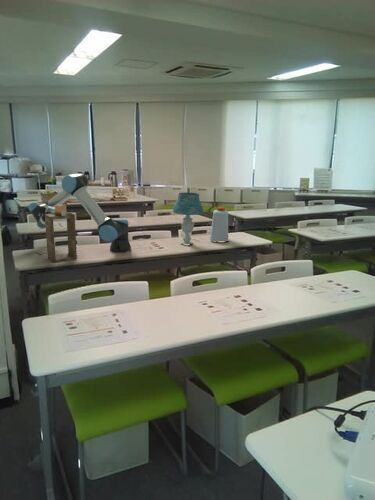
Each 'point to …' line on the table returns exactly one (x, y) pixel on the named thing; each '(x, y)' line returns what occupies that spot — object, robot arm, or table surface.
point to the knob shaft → (58, 210)
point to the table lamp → (188, 212)
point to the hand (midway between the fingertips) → (54, 206)
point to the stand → (70, 233)
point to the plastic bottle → (219, 225)
